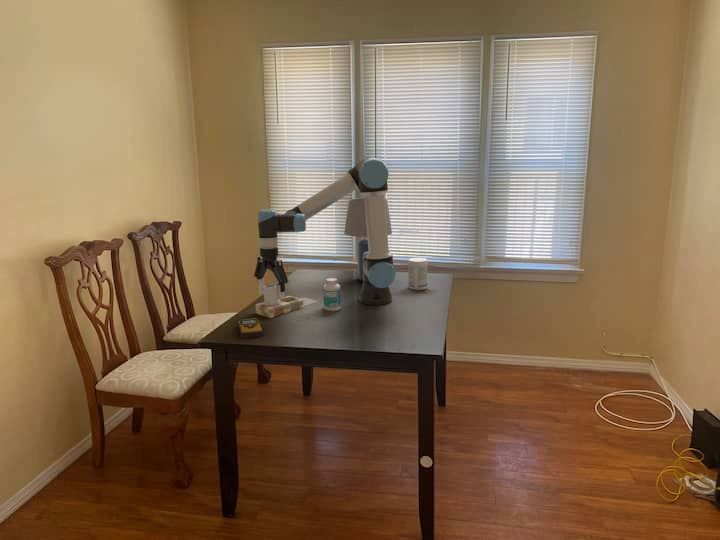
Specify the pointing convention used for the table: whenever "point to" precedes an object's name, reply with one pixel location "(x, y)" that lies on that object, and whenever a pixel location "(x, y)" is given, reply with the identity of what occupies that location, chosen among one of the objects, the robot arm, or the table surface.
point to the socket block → (280, 307)
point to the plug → (270, 295)
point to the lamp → (361, 227)
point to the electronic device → (250, 328)
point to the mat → (308, 301)
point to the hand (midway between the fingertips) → (271, 296)
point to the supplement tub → (417, 273)
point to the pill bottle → (332, 295)
